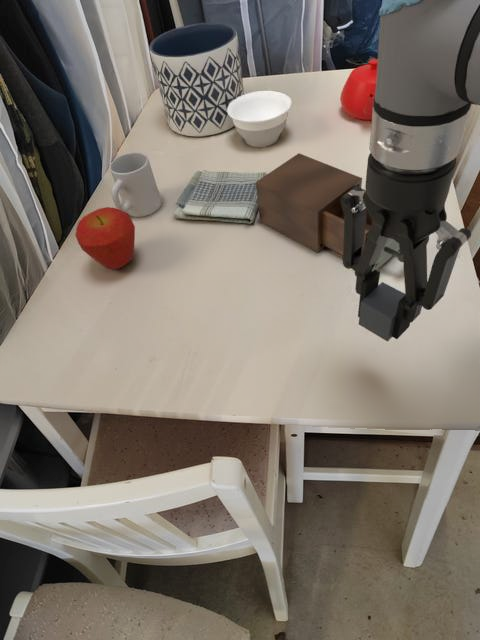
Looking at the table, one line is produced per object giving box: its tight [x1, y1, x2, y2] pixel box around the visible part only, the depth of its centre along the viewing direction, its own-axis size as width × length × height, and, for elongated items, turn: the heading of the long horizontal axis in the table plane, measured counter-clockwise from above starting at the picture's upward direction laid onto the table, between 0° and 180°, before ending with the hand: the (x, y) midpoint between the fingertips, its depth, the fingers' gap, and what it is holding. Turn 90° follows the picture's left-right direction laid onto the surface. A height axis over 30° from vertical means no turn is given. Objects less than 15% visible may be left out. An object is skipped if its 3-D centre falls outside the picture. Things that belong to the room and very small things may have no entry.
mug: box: [109, 152, 163, 218], centre depth 97 cm, size 12×8×11 cm
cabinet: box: [256, 153, 363, 253], centre depth 87 cm, size 16×13×10 cm
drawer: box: [320, 186, 403, 272], centre depth 80 cm, size 19×11×8 cm, turn 44°
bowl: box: [227, 90, 293, 148], centre depth 112 cm, size 16×16×8 cm
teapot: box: [340, 58, 378, 121], centre depth 112 cm, size 25×16×12 cm, turn 167°
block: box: [358, 281, 405, 342], centre depth 55 cm, size 4×4×4 cm
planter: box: [148, 22, 245, 137], centre depth 118 cm, size 22×22×20 cm
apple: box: [74, 206, 136, 270], centre depth 86 cm, size 11×11×12 cm
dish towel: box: [173, 169, 268, 225], centre depth 99 cm, size 19×18×3 cm
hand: (383, 321), depth 57 cm, fingers closed on block, 4 cm apart
